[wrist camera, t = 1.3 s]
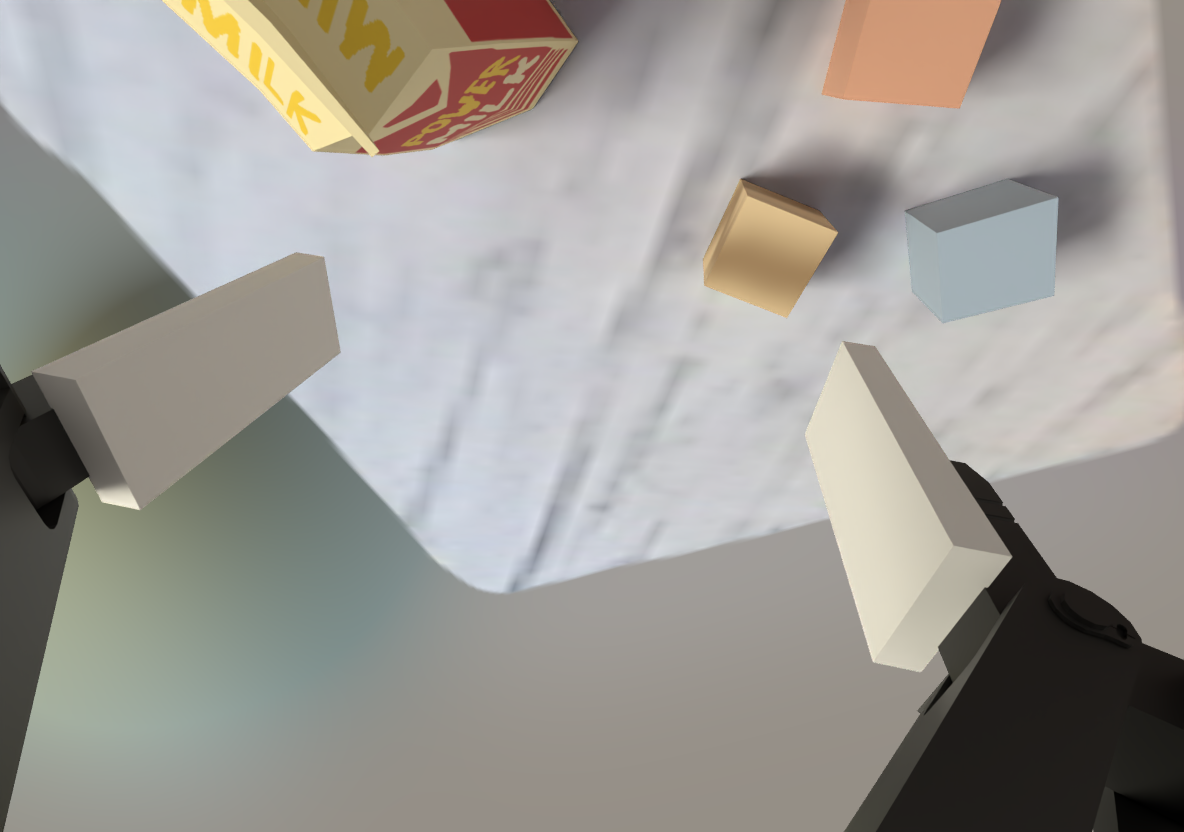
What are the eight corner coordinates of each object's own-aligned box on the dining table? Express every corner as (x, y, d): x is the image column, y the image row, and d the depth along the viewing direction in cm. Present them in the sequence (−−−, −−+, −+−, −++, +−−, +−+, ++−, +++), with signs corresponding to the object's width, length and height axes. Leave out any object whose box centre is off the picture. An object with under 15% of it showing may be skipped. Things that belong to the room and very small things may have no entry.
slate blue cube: (904, 210, 31) (936, 233, 26) (1006, 178, 29) (1058, 197, 25) (911, 290, 33) (942, 323, 29) (1006, 265, 31) (1054, 295, 27)
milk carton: (363, -1, 29) (-71, -88, 13) (495, -128, 25) (128, -487, 9) (464, 159, 33) (230, 255, 16) (592, 68, 29) (458, 71, 13)
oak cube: (740, 178, 31) (747, 196, 27) (819, 210, 31) (838, 232, 27) (703, 258, 34) (704, 285, 30) (775, 287, 34) (786, 318, 30)
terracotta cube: (852, -28, 25) (883, -46, 21) (963, -22, 25) (1016, -39, 21) (821, 94, 28) (842, 99, 24) (920, 101, 28) (959, 108, 24)
